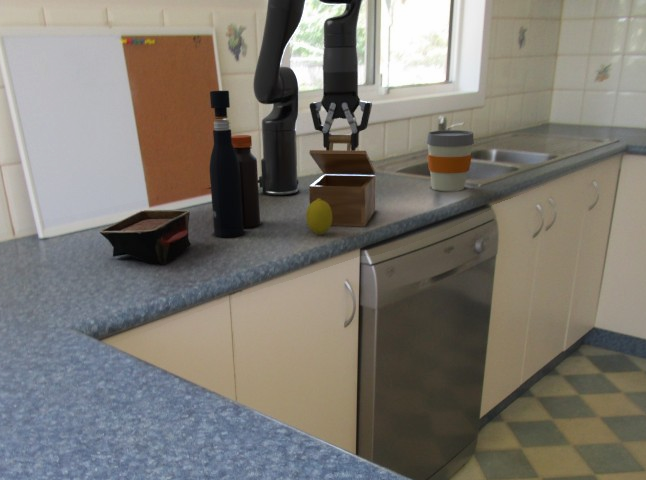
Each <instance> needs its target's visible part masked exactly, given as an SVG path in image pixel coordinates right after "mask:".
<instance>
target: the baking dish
mask: <svg viewBox="0 0 646 480" xmlns="http://www.w3.org/2000/svg"><path fill="white" fill-rule="evenodd" d="M190 212H191V211H190V210H188V209H187V210H186V209H145V210H140V211H138V212H135V213H133V214H132V215H130V216H127V217H125V218H123V219H121V220H119V221H117V222H115V223H113V224H111V225H109V226H107V227H105V228H103V229H101V230H100V231H99V234H100V235H101V236H102V237H104V238H105V239H106V240H107V241H108V242H109V243H110V245H111V246H112V247H113V249H112V258H116V257H121V256H122V257H123V256H129V257H132V258H135V259H137V260H140V261H142V262H145V263H147V264H150V265H151V264H152V265H160V266H164V265H166V264H167V263H169V262H171V261H172V260H174V259H175V258H177V257H178V256H179V255H180V254H182V253H183V252H184V251H185V250H187V249H188V248H189V247H190V246H191V245H192V244H191V242H190V239H189V224H190V223H189V222H190Z"/></svg>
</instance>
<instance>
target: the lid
mask: <svg viewBox="0 0 646 480" xmlns="http://www.w3.org/2000/svg"><path fill="white" fill-rule="evenodd" d="M329 143H330V146H329V150H326V149H325V150H323V149H310V150H309V152H308V153H309V155H310V157H311V158H312V160H313V161H314V162H315V164H316V165H317V166H318V168H319V170H321V172H322V173H323V175H324V174H328V175H375V176H376V170H375V168H374V165H373V163H372V161H371V158H370V157H369V154H368V152H367V150H355V151H351V133H349V134H348V133H346V134H345V133H341V134H340V133H331V134H330V135H329ZM334 144H340V145H341V144H344V145H345V144H346V150H336V149H335V150H334Z"/></svg>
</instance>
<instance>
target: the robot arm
mask: <svg viewBox="0 0 646 480" xmlns="http://www.w3.org/2000/svg"><path fill="white" fill-rule="evenodd" d="M318 1H319V2H320V3H321V4H324V5H330V6H331V5H332V6H333V5H345V8H344V10H343V13H342V14H340V15H337V16H336V15H335V16H332V17H329V18H326V19H325V21H324V23H323V54H322V77H323V78H322V86H323V87H322V90H323V91H322V93H323V94H322V98H321V100H319V101H316V102H315V101H314V102H310V104H309V110H310V114H311V118H312V123H313V127H314V130H315V131H319V132H321V133H322V140H323V141H322V142H323V144H322V145H323V148H324V149H325V150H329V146H330V143H329V135H330V134H332V132H331V129H332V126H333V123H334V121H335V120H337V119H342V120H346V121H347V123H348V125H349V127H350V131H351V133H350V134H351V149H350V151H357V150H356V149H357V148H359V143H360V140H359V139H360V136H359V135H360V132H362V131H365V130H367V128H368V125H369V121H370V117H371V112H372V107H373V103H372V102H371V101H364V100H360V99H361V98H360V97H359V56H358V23H359V16H360V13H361V8H362V4H363V1H364V0H318ZM306 3H307V0H267V5H266V7H267V8H266V14H265V17H266V18H265V22H264V29H263V35H262V40H261V46H260V50H259V55H258V59H257V63H256V66H255V71H254V76H253V84H252V85H253V86H252V88H253V93H254V97H255V98H256V101H258V102H259V104H262V105H272V109H271V111H270V113H268V114H267V115H266V116H265V117H263V118H262V120H261V136H262V137H261V139H262V158H261V160H260V169H261V175H260V176H258V187H259V188H262V189H261V190H262V195H268V196H269V195H270V196H290V195H294V194H297V193H299V180H298V152H297V121H298V118H299V105H300V104H299V103H300V102H299V101H300V100H299V99H300V96H299V95H300V92H299V91H300V89H299V79H298V76H297V74H296V72H295V70H294V69H293V68H291V67H290V66H281V65H282V61H283V57H284V54H285V51H286V48H287V46H288V44H289V43H290V41H291V40H292V38H293V36H294V35H295V34H296V32H297V30H298V29H299V27H300V25H301V23H302V20H303V17H304V15H305V9H306ZM322 108H323V109H324V110H325V112H326V113H327V114H326V117H325V120H324V124H323V123H322V118H321V114H320V112H321V110H322ZM358 108H360V111H361V112H362V116H361V120H360V124H358V122H357V117H356V115H355V112H356V110H357V109H358Z"/></svg>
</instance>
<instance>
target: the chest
mask: <svg viewBox="0 0 646 480" xmlns="http://www.w3.org/2000/svg"><path fill="white" fill-rule="evenodd" d="M308 187H309V189H308V190H309V192H308V193H309V205H310V204H311V203H312V202H313V201H316V200H317V199H321V200H323V201H325V202H327V203H328V204H329V206H330V208H331V211H332V224H331V226H340V227H341V226H342V227H343V226H344V227H366V226H367V224H368V222H369V221H370V220H371V218H372V217H373V215H374V213H375V212H376V174H375V175H349V174H324V173H323V175H322V176H320V177H319V178H317V180H315V181H314V182H313V183H312V184H310V185H309V186H308Z"/></svg>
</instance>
